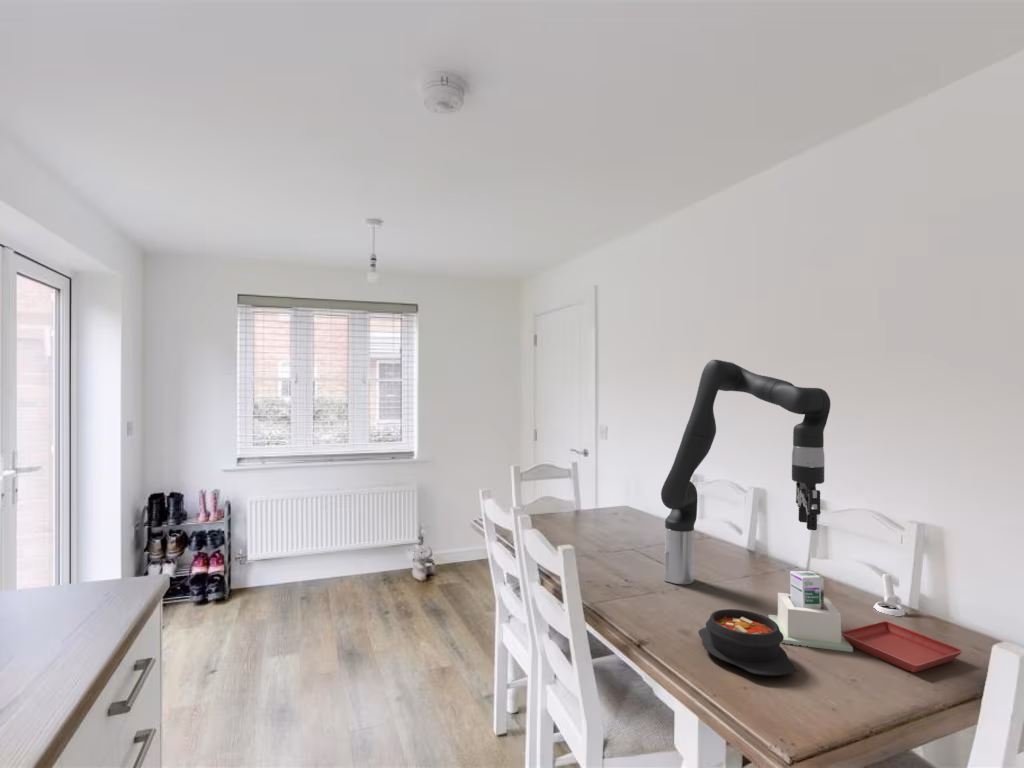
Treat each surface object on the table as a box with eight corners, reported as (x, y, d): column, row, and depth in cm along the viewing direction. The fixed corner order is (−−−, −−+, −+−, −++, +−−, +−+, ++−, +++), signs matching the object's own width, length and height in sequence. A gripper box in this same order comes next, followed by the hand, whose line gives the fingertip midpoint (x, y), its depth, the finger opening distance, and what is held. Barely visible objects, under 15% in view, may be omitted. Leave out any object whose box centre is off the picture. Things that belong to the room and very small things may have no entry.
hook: (888, 583, 166) (904, 577, 160) (896, 625, 159) (913, 619, 153) (863, 578, 166) (878, 571, 161) (870, 618, 159) (886, 613, 154)
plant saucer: (916, 679, 120) (916, 664, 120) (838, 644, 137) (838, 631, 137) (964, 664, 127) (964, 650, 127) (885, 633, 144) (885, 620, 144)
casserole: (817, 679, 119) (817, 640, 119) (742, 688, 115) (743, 648, 115) (744, 630, 144) (744, 598, 144) (680, 636, 139) (680, 603, 139)
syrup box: (803, 634, 139) (803, 577, 140) (789, 624, 145) (789, 569, 145) (824, 633, 140) (824, 576, 140) (810, 624, 146) (810, 569, 146)
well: (780, 643, 136) (780, 611, 136) (768, 618, 152) (768, 589, 152) (852, 652, 132) (853, 618, 132) (832, 625, 148) (832, 595, 148)
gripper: (786, 459, 151) (785, 518, 151) (798, 466, 137) (798, 531, 137) (816, 461, 149) (815, 520, 149) (832, 468, 135) (831, 533, 135)
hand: (807, 525), depth 143 cm, fingers open, 8 cm apart
